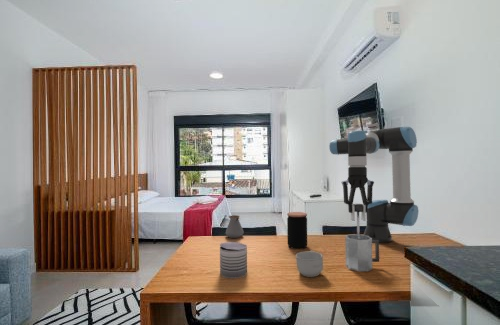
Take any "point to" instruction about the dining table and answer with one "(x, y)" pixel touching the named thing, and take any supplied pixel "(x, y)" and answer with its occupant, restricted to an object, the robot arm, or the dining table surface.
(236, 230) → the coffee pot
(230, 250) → the can
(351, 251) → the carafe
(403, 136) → the robot arm
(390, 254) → the dining table surface
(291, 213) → the coffee jar
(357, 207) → the plunger
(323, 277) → the dining table surface
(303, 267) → the teacup
